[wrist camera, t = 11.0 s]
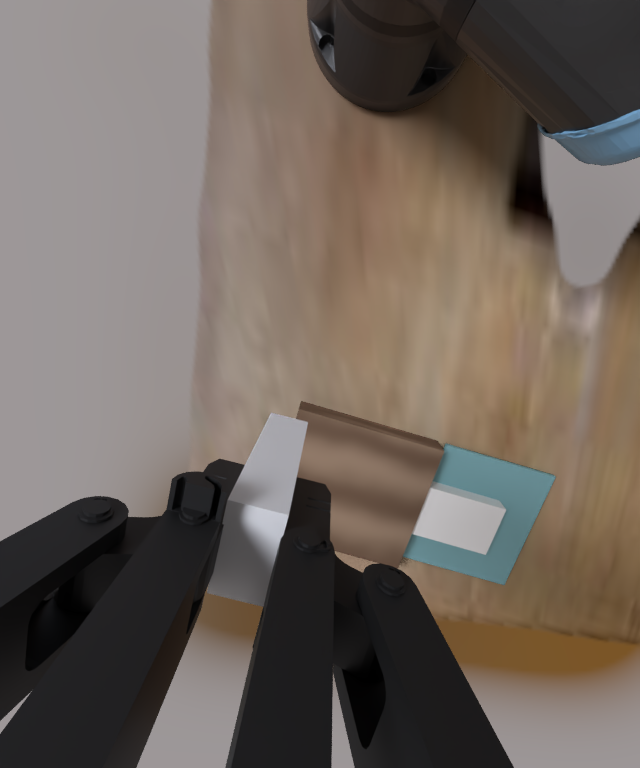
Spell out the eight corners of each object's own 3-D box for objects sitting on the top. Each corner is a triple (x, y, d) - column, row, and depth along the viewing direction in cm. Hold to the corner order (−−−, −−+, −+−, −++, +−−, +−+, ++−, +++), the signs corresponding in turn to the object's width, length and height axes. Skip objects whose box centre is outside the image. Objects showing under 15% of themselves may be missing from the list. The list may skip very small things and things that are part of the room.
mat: (445, 443, 46) (446, 445, 46) (553, 474, 47) (555, 476, 46) (401, 554, 50) (402, 556, 49) (502, 582, 50) (504, 585, 50)
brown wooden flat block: (301, 401, 45) (299, 409, 42) (437, 440, 46) (444, 451, 43) (267, 516, 49) (263, 530, 46) (394, 551, 49) (397, 568, 47)
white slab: (425, 478, 47) (429, 487, 45) (499, 500, 47) (506, 509, 45) (407, 523, 48) (410, 533, 46) (479, 544, 48) (485, 554, 46)
